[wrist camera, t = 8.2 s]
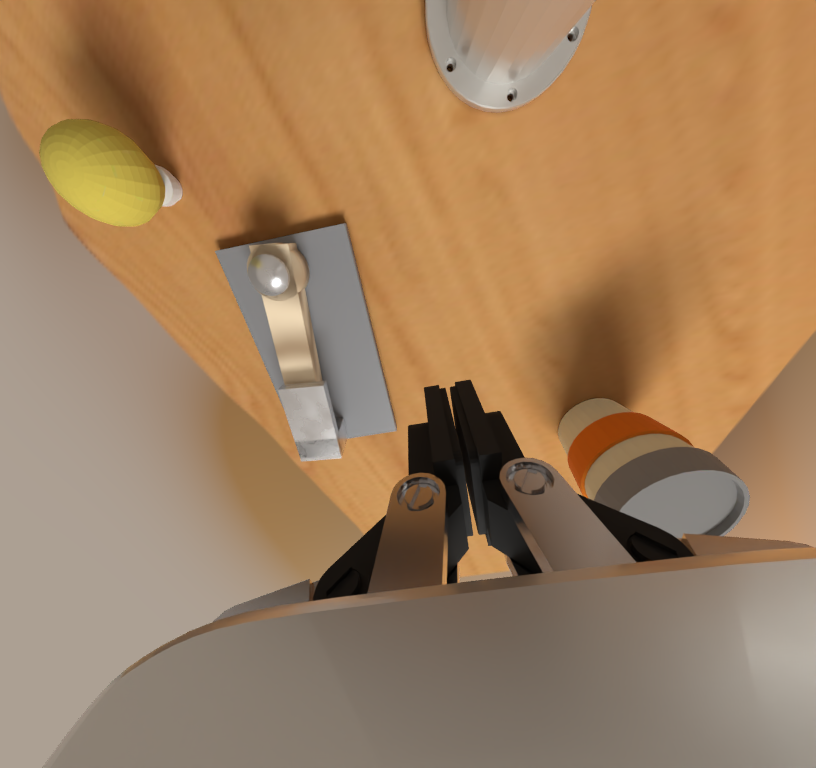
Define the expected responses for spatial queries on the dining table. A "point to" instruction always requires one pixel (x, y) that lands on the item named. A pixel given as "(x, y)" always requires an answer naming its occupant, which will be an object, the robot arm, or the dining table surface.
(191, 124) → the dining table surface
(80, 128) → the light bulb
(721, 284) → the dining table surface
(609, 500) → the reusable coffee cup
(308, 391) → the block
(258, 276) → the pin cap
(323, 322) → the base board
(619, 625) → the robot arm
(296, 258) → the arm link
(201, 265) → the dining table surface
